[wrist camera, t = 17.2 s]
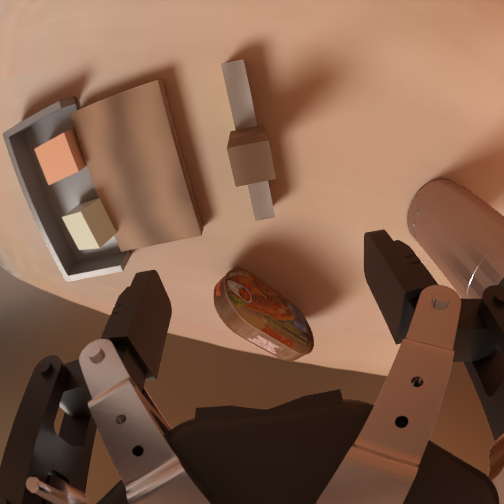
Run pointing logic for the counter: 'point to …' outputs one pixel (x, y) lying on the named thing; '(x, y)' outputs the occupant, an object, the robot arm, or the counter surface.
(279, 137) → the counter surface
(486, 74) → the counter surface
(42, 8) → the counter surface
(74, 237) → the cream block
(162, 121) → the walnut board
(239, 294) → the tin
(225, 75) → the cube on grey rod
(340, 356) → the counter surface
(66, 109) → the box
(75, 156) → the salmon pink cube
